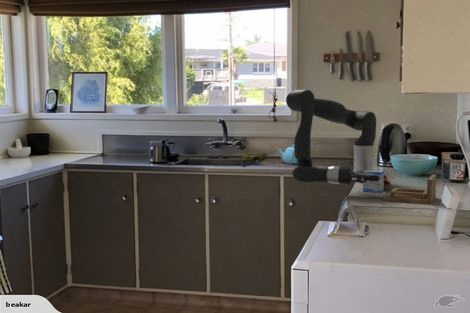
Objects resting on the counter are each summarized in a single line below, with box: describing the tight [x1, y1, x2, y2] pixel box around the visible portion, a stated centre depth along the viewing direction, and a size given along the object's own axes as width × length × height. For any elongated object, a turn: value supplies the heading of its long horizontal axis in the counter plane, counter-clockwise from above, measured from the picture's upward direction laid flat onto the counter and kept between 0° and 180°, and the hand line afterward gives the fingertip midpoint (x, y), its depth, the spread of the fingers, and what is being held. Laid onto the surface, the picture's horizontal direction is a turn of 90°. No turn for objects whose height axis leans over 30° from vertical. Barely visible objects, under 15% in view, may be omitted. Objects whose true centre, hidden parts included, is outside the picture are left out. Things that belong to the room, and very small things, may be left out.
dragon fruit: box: [384, 174, 391, 188], centre depth 270 cm, size 8×8×12 cm
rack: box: [383, 174, 437, 205], centre depth 245 cm, size 14×18×10 cm
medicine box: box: [362, 170, 385, 194], centre depth 251 cm, size 8×4×9 cm, turn 69°
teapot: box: [277, 144, 298, 165], centre depth 358 cm, size 15×15×11 cm
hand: (380, 177), depth 250 cm, fingers closed on medicine box, 4 cm apart
